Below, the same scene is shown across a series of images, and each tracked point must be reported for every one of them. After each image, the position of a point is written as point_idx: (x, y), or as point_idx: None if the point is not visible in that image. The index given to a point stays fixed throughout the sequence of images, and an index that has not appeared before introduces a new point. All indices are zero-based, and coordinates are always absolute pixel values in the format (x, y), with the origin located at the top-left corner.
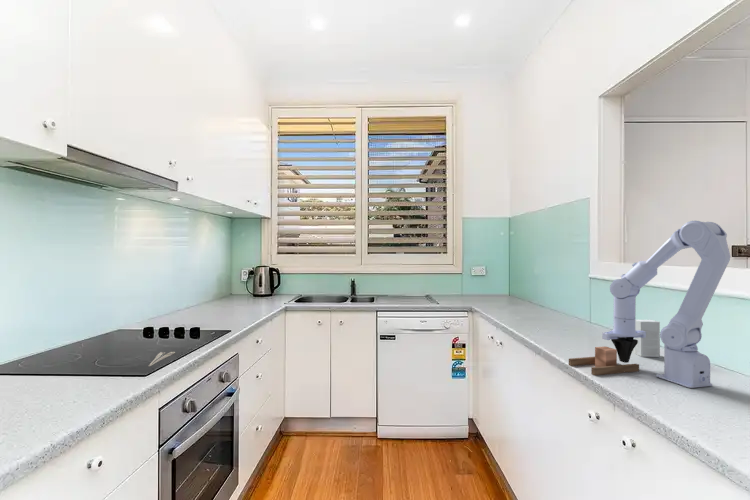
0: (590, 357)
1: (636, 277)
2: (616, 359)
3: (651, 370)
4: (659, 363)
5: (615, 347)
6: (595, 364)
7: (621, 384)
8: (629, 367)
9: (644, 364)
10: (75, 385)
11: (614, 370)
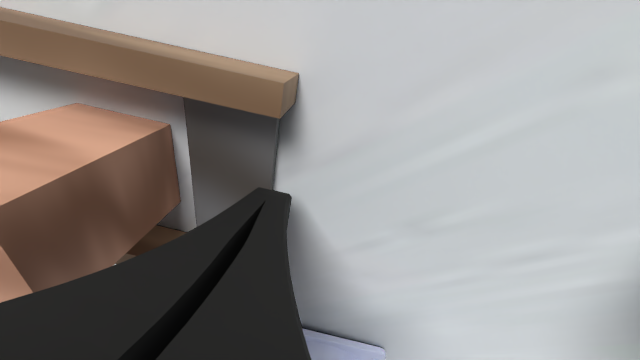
0: (1, 41)
1: None
2: (130, 246)
3: (353, 285)
4: (584, 263)
5: (156, 248)
6: (61, 112)
7: None
8: None
9: (459, 230)
10: None
11: None
